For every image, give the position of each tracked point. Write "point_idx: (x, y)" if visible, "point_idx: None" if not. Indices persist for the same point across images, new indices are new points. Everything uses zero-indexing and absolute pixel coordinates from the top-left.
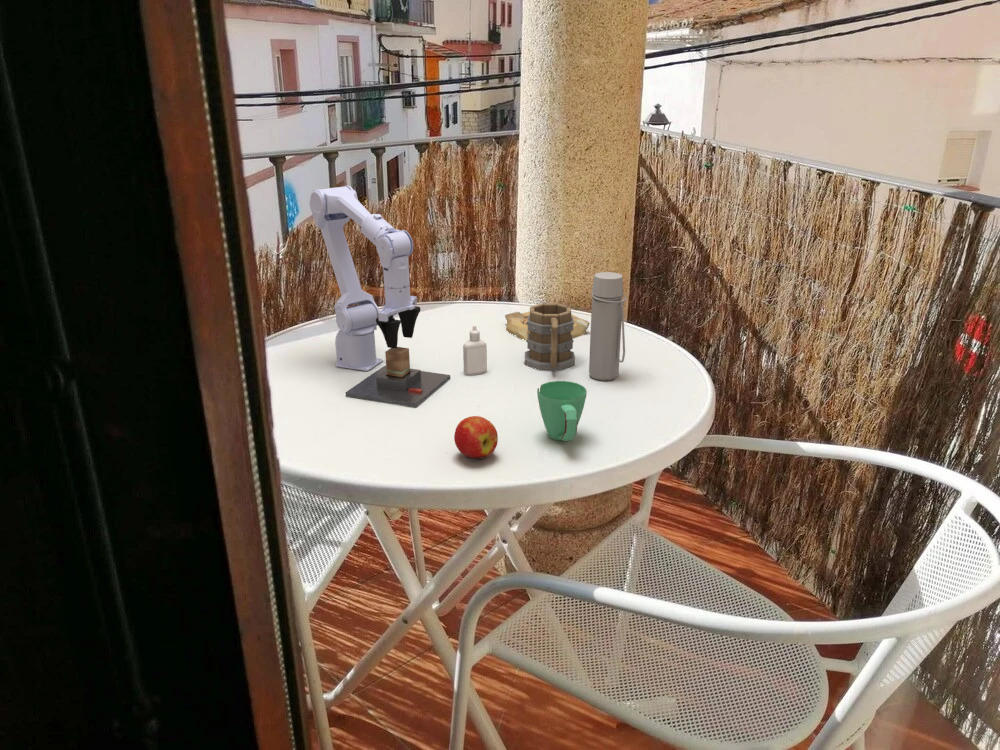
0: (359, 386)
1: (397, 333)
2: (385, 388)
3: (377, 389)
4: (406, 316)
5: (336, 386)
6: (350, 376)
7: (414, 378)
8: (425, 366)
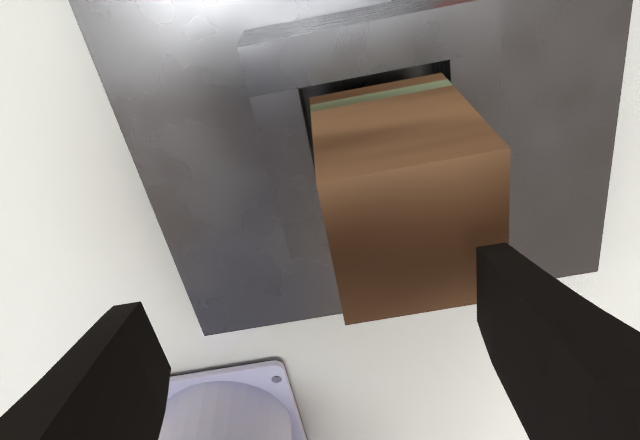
0: None
1: (590, 349)
2: None
3: None
4: None
5: None
6: (365, 376)
7: (343, 20)
8: (14, 184)
